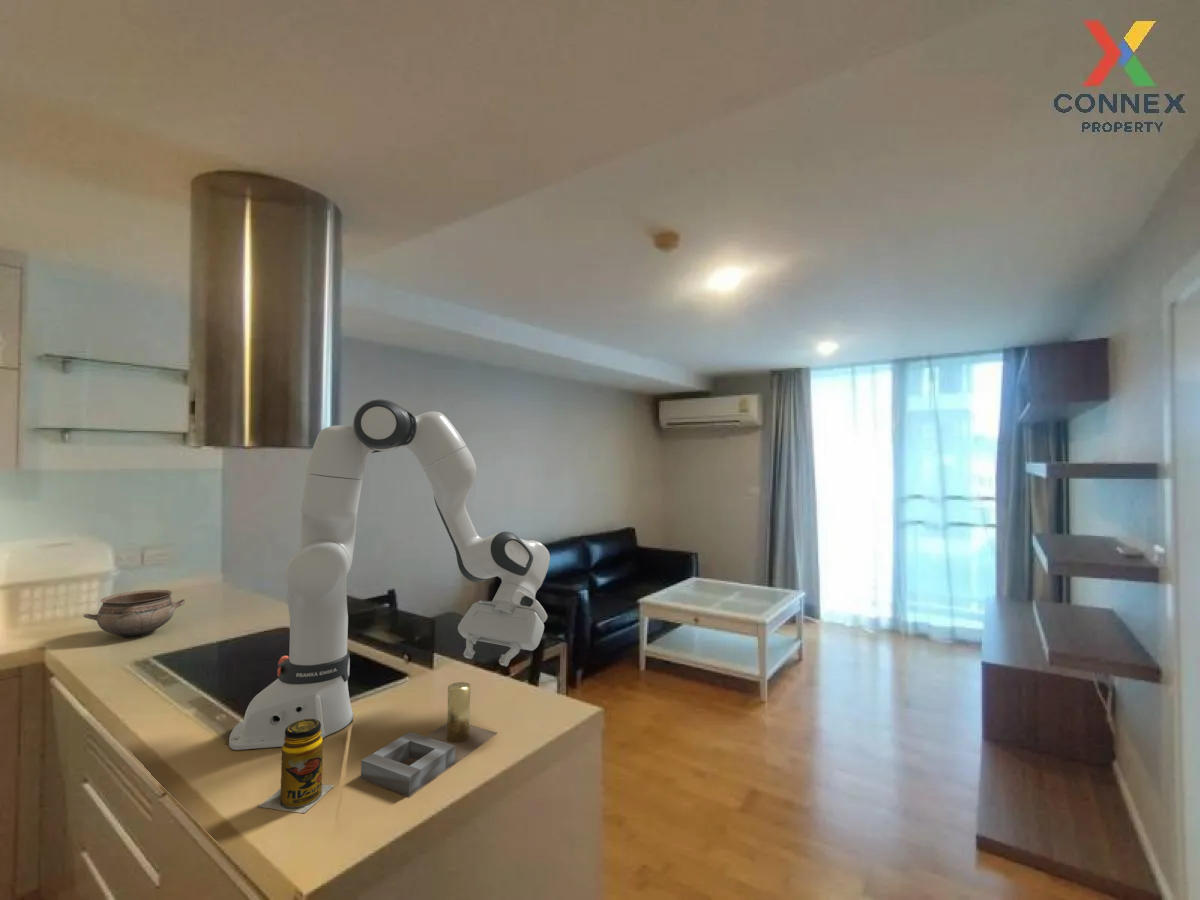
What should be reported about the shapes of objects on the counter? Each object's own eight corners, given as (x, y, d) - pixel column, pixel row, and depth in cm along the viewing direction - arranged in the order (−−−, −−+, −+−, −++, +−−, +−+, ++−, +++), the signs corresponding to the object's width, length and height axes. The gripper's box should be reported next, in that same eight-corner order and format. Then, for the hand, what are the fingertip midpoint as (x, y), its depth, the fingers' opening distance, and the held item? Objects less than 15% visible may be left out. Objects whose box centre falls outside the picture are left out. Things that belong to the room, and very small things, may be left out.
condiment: (304, 813, 85) (306, 737, 85) (257, 807, 86) (259, 732, 87) (334, 786, 92) (336, 716, 92) (290, 781, 93) (292, 711, 94)
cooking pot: (177, 620, 187) (178, 585, 187) (192, 631, 175) (193, 594, 175) (77, 637, 168) (79, 598, 168) (87, 651, 155) (88, 609, 156)
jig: (408, 803, 88) (409, 779, 88) (357, 784, 93) (357, 760, 93) (497, 737, 109) (498, 717, 109) (451, 724, 114) (452, 705, 115)
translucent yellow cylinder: (447, 744, 104) (449, 692, 105) (445, 733, 109) (446, 683, 109) (470, 740, 106) (471, 689, 106) (467, 730, 110) (468, 680, 111)
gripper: (470, 591, 127) (440, 645, 118) (543, 602, 118) (517, 661, 109) (481, 606, 131) (453, 659, 122) (553, 617, 122) (529, 676, 113)
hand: (484, 660), depth 115 cm, fingers open, 8 cm apart
